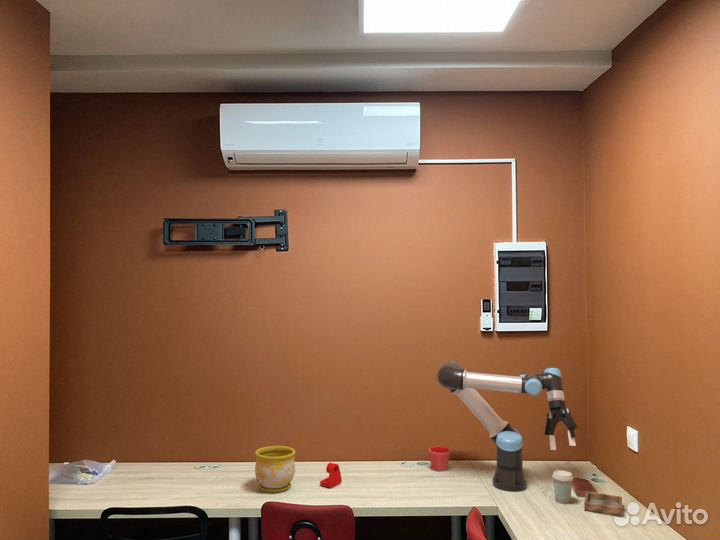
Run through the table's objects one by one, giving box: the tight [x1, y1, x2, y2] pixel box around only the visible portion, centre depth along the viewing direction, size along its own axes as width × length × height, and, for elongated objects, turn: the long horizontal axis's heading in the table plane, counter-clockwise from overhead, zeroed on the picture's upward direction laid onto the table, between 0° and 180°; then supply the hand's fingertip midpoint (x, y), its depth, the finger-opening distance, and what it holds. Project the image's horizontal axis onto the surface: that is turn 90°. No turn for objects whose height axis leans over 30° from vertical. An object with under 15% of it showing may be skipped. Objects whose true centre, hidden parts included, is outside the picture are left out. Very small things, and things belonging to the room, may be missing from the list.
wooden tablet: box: [572, 477, 599, 498], centre depth 253 cm, size 27×10×2 cm, turn 168°
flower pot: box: [428, 446, 451, 472], centre depth 277 cm, size 11×11×10 cm
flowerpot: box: [254, 445, 296, 494], centre depth 248 cm, size 18×18×16 cm
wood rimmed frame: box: [583, 491, 623, 518], centre depth 229 cm, size 14×14×4 cm
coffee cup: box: [551, 469, 574, 505], centre depth 236 cm, size 9×9×12 cm
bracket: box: [319, 462, 343, 489], centre depth 253 cm, size 9×6×10 cm
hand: (562, 447), depth 249 cm, fingers open, 13 cm apart
